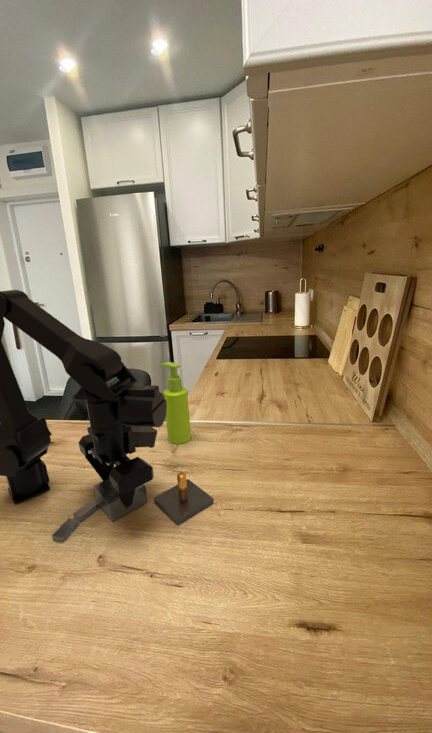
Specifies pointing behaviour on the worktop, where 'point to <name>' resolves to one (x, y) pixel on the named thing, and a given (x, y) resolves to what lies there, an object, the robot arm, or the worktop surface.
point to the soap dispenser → (176, 407)
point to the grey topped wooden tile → (86, 511)
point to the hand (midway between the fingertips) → (119, 496)
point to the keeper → (183, 500)
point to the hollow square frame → (117, 499)
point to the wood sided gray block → (65, 530)
